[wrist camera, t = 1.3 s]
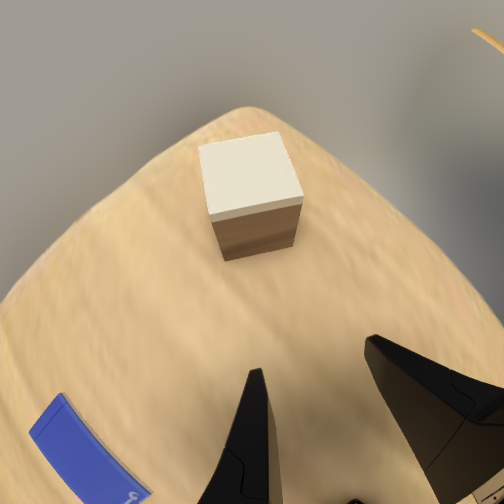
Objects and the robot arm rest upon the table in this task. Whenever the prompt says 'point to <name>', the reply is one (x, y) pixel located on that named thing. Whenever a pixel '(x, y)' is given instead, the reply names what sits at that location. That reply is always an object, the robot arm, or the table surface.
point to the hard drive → (84, 457)
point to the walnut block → (251, 194)
